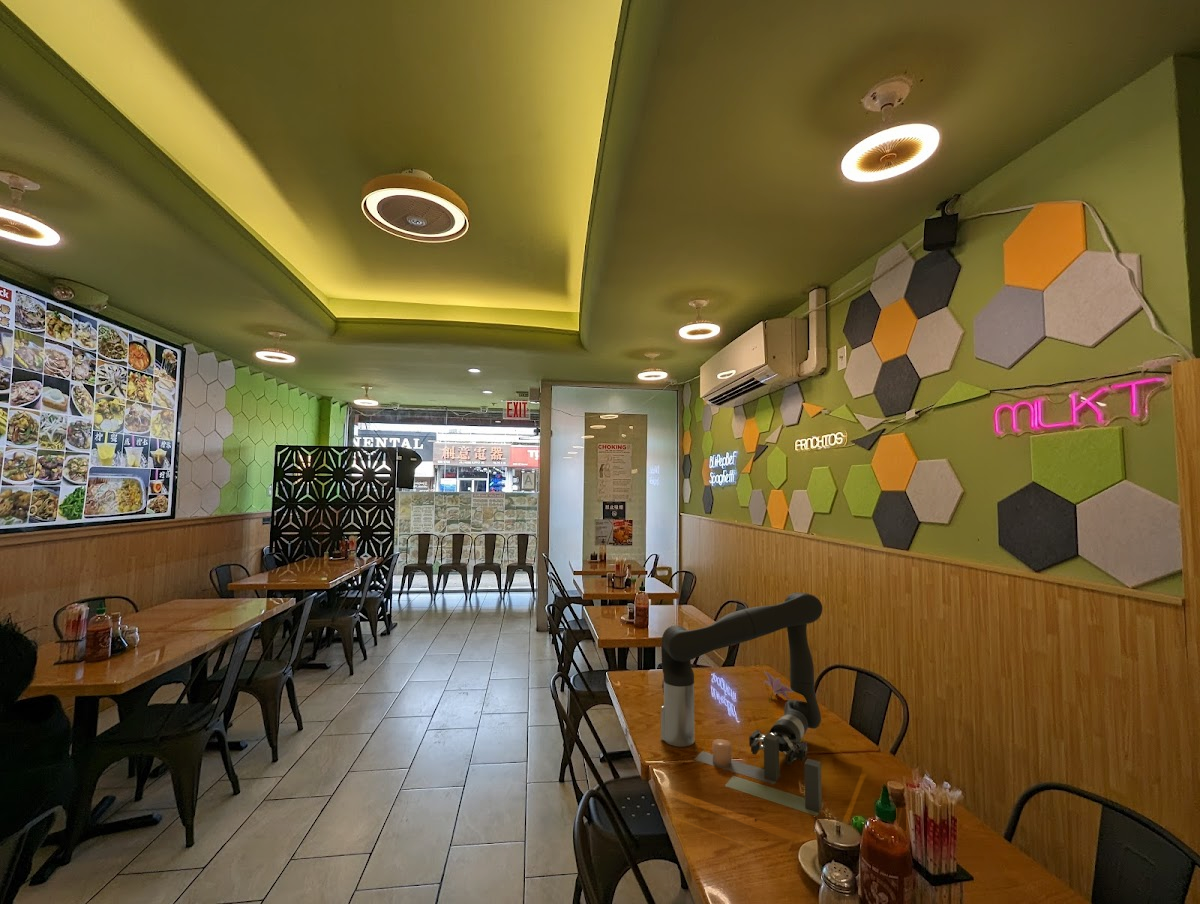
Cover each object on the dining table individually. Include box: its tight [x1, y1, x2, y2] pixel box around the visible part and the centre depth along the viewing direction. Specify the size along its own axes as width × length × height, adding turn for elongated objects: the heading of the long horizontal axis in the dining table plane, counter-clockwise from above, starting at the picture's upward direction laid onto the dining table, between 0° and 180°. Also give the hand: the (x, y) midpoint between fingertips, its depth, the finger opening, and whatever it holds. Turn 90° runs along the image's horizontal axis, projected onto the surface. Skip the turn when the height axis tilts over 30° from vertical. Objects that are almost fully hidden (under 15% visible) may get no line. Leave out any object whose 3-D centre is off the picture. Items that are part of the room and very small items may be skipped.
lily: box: [762, 670, 795, 703], centre depth 196 cm, size 12×12×10 cm
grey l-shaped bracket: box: [693, 733, 782, 785], centre depth 144 cm, size 22×6×11 cm, turn 56°
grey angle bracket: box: [724, 757, 824, 817], centre depth 130 cm, size 22×6×11 cm, turn 56°
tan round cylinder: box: [711, 738, 732, 767], centre depth 146 cm, size 5×5×5 cm
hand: (770, 755), depth 137 cm, fingers open, 8 cm apart
